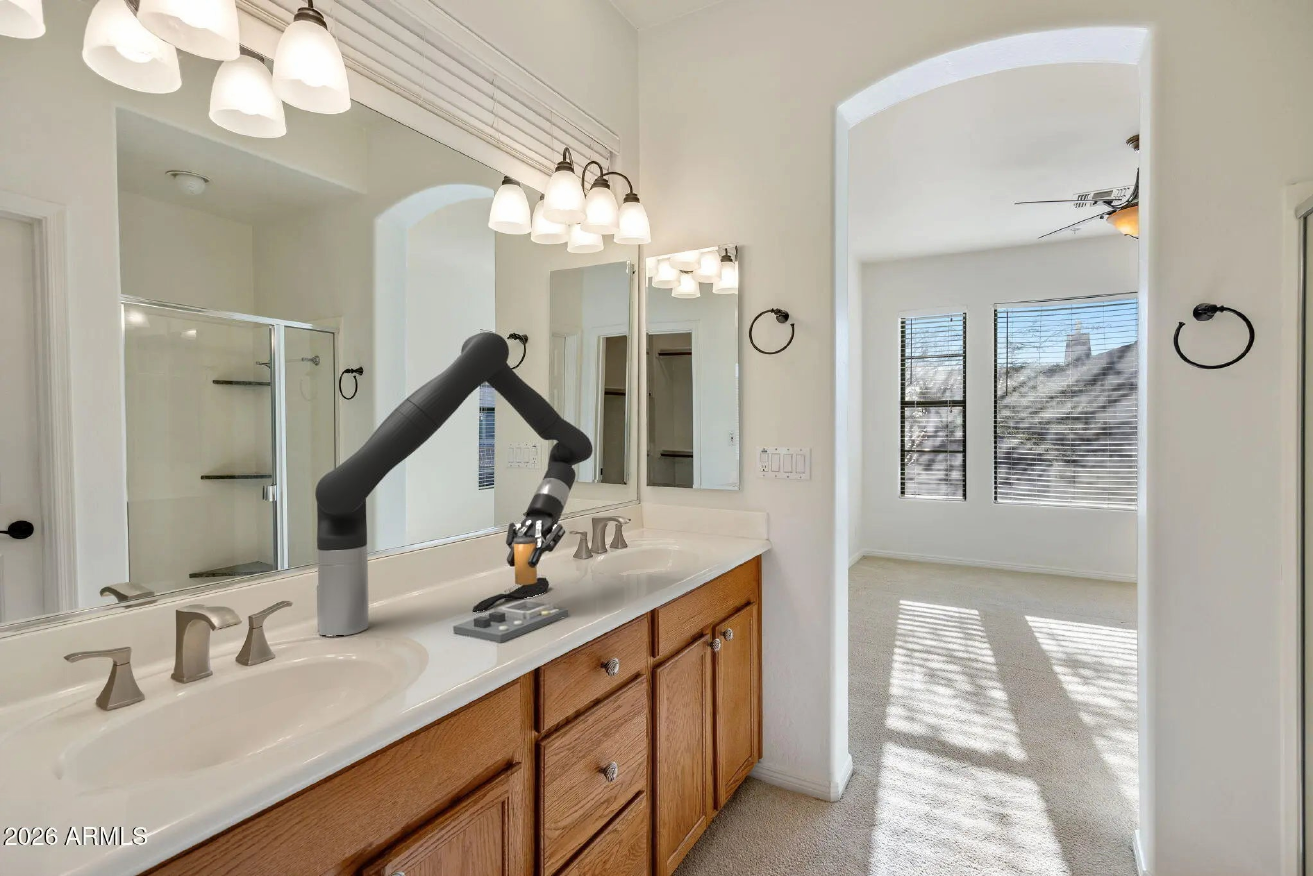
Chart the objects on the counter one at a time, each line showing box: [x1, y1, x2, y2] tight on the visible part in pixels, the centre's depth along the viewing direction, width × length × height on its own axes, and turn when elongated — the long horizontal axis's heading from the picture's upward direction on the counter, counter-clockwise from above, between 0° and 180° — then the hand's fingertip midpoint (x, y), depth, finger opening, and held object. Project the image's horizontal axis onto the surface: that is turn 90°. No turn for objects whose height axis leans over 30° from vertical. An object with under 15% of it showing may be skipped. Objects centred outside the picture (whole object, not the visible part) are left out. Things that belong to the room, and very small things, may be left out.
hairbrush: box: [472, 574, 550, 613], centre depth 150 cm, size 8×4×25 cm
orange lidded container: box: [514, 536, 538, 586], centre depth 133 cm, size 5×5×10 cm
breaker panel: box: [453, 599, 569, 644], centre depth 129 cm, size 13×20×3 cm, turn 149°
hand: (520, 564), depth 131 cm, fingers closed on orange lidded container, 4 cm apart
